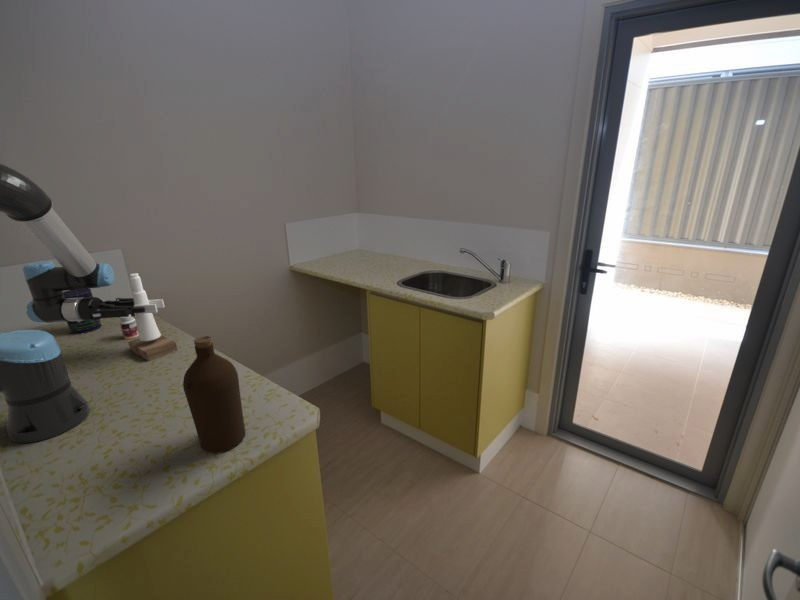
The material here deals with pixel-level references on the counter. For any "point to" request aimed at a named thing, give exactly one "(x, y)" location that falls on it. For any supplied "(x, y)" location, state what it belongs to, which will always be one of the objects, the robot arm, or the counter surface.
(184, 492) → the counter surface
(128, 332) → the pill bottle
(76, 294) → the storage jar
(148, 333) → the cosmetic bottle
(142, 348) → the walnut board
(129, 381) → the counter surface
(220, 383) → the olive oil
